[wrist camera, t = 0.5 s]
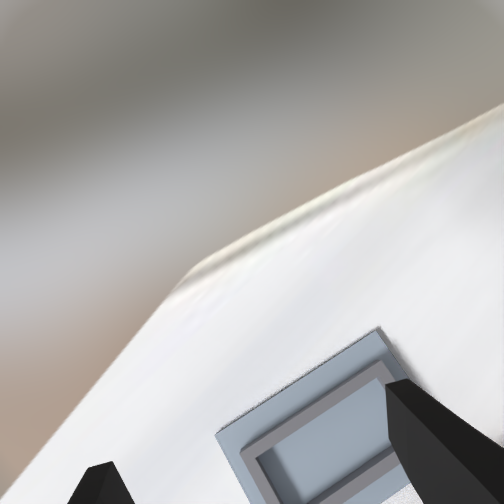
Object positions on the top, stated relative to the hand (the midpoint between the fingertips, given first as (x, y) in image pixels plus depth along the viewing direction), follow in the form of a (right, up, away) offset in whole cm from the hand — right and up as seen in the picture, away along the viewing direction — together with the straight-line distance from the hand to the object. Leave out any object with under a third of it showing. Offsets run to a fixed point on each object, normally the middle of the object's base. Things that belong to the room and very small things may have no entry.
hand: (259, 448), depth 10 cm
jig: (+7, -12, +24) cm, 28 cm away
